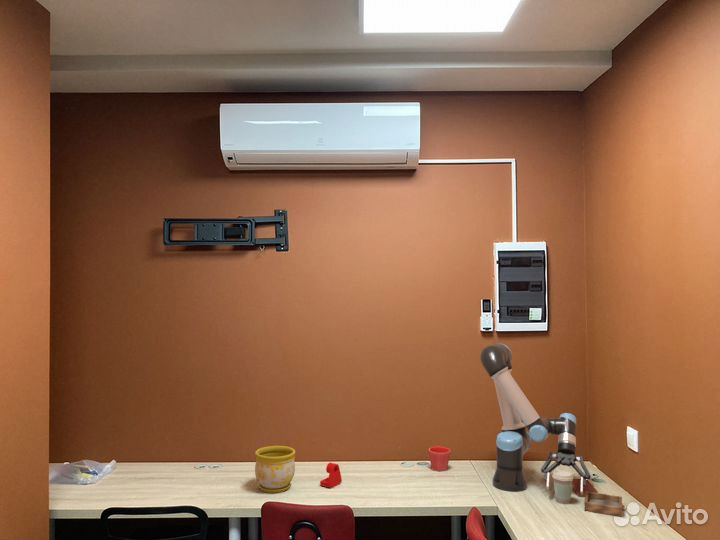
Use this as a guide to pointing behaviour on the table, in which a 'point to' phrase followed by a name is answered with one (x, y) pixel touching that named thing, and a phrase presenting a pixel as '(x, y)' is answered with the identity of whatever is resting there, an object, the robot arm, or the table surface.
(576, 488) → the wooden tablet
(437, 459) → the flower pot
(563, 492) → the coffee cup
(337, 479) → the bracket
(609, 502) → the wood rimmed frame
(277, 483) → the flowerpot
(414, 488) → the table surface
